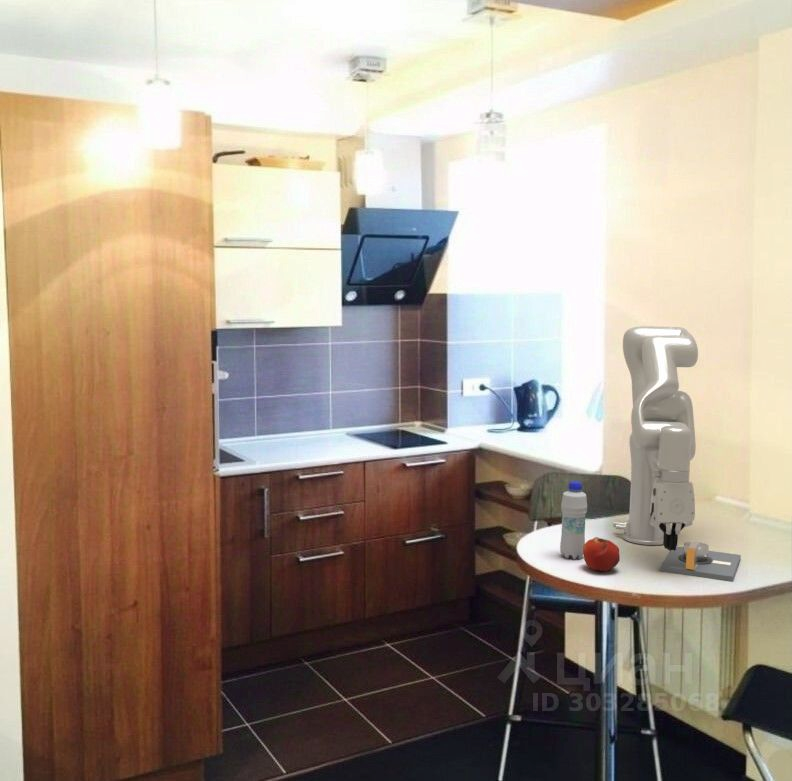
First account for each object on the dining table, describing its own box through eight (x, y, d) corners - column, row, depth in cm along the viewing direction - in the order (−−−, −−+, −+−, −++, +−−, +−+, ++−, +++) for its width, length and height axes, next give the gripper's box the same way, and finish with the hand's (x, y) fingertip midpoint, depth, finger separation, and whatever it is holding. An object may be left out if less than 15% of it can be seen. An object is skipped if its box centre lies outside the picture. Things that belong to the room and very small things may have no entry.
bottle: (581, 553, 242) (585, 478, 239) (588, 560, 235) (591, 484, 233) (556, 552, 242) (559, 478, 239) (562, 560, 235) (565, 484, 233)
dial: (685, 553, 238) (686, 535, 237) (709, 557, 235) (710, 538, 234) (677, 567, 226) (678, 548, 225) (702, 571, 223) (703, 551, 223)
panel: (660, 570, 228) (660, 565, 228) (673, 550, 246) (673, 544, 246) (732, 581, 221) (732, 575, 220) (740, 559, 239) (740, 554, 238)
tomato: (592, 561, 235) (593, 531, 234) (625, 569, 229) (627, 538, 228) (574, 570, 228) (576, 538, 227) (608, 578, 222) (610, 546, 221)
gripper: (651, 479, 221) (648, 553, 223) (709, 478, 224) (705, 552, 225) (638, 473, 229) (635, 546, 230) (694, 473, 231) (690, 544, 233)
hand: (670, 548), depth 228 cm, fingers closed
